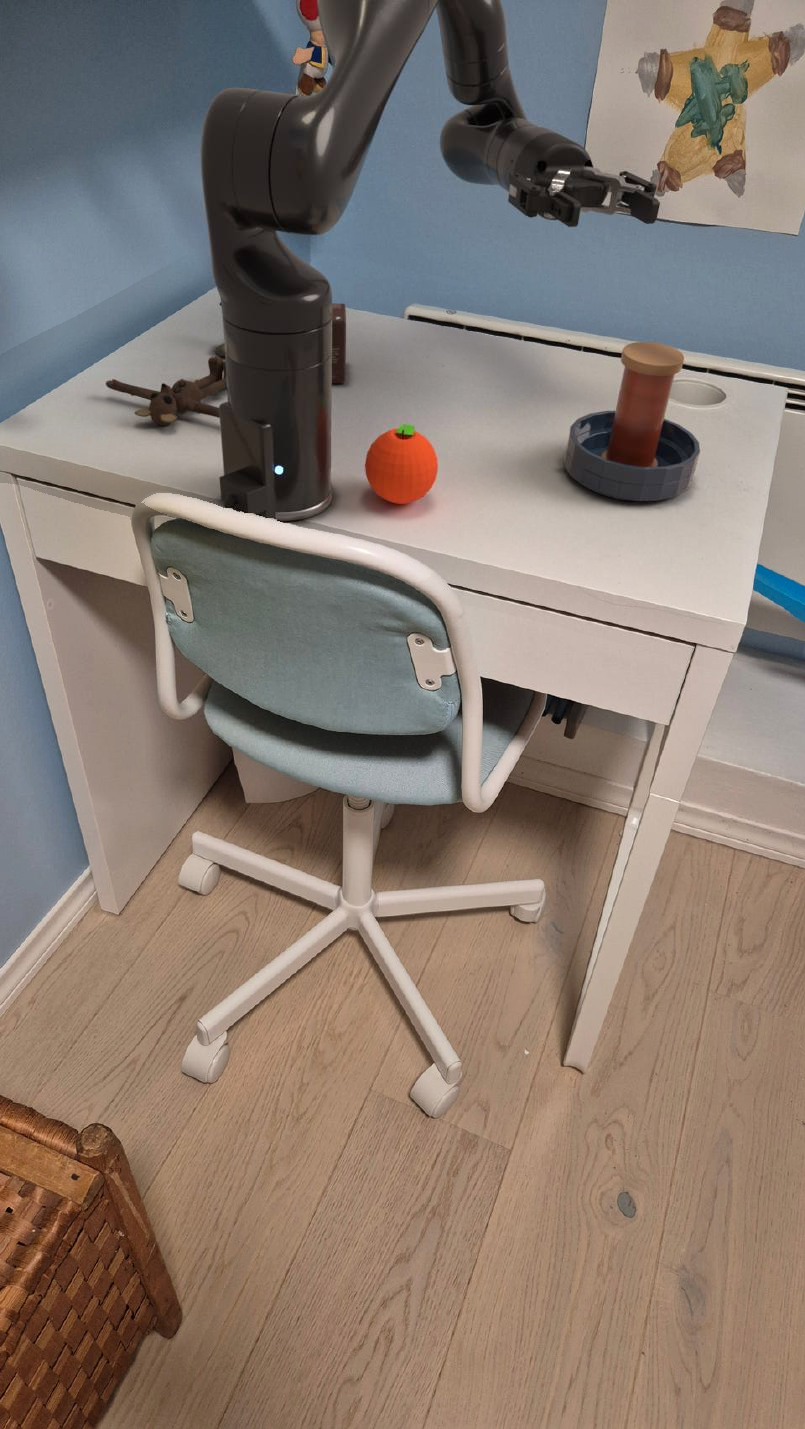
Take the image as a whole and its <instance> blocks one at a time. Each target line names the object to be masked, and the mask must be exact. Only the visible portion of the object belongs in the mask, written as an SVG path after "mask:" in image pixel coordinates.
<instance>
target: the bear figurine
mask: <svg viewBox="0 0 805 1429" xmlns="http://www.w3.org/2000/svg"><path fill="white" fill-rule="evenodd" d="M207 366H208V369H209V375H206V376H204V377H202V378H199V379H195V380H194V381H191V380H186V379H184V378H181V379H179V380H177V381H176V382H175V383H173V385H172V387H171V386H170V385H168V384H167V383H161V386H160V389H159V390H160V391H159V390H155V389H150V388H145V387H141V386H137V385H133V384H129V383H126V382H121V381H120V380H117V379H115V378H113V379H112V380H111V379H110V380H107V381H106V382H105V386H106V387H107V388H108V389H110V390H113V391H116V392H119V393H123V394H128V395H130V396H132V397H139V398H142V399H145V400H149V401H150V402H149V406H148V407H147V408H146V407H145V408H140V409H138V410H136V411H134V415H136V416H138V417H142V418H146V417H149V416H150V418H151V420H152V422H153V423H154V424H157V425H159V426H164V427H165V426H166V427H167V426H170V425H171V424H172V423H175V422H176V421H178V416H177V415H183V414H185V413H187V412H190V413H196V414H198V415H200V414H201V415H206V416H210V417H215V418H218V419H220V415H219V406H214V405H211V404H208V403H204V402H202V400H204V399H205V398H209V397H210V396H212V395H216V394H218V393H219V392H220V391H225V390H227V378H226V362H225V360H224V359H223V358H221V357H219V356H217V355H216V356H211V357H209V358H208V360H207Z"/></svg>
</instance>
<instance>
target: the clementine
mask: <svg viewBox="0 0 805 1429" xmlns="http://www.w3.org/2000/svg"><path fill="white" fill-rule="evenodd" d="M415 428H416V425H414V424H413V425H412V424H405V423H404V424H401V425H400V426H398V427H397V428H393V429H389V430H387V431H386V432H384V433H382V434H380V435H378V437H377V438H376V439H375V440H374V441H373V442H372V443H371V444H370V446H369V448H368V450H367V453H366V457H365V463H364V472H365V476H366V479H367V481H368V484H369V487H370V488H372V490H373V491H374V492H375V494H376V495H377V496H379V497H380V498H382V499H383V500H385V501H387V502H390V503H393V504H397V505H406V504H410V503H413V502H416V501H418V500H420V499H422V498H423V497H424V496H425V495H427V494H428V492H429V491H430V490H431V489H432V487H433V486H434V484H435V482H436V480H437V476H438V470H439V463H438V460H439V459H438V457H437V453H436V452H435V449H434V446H433V444H431V442H430V441H429V440H428V439H427V437H425V435H423V434H421V433H419V432H418V431H416V430H415Z"/></svg>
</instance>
